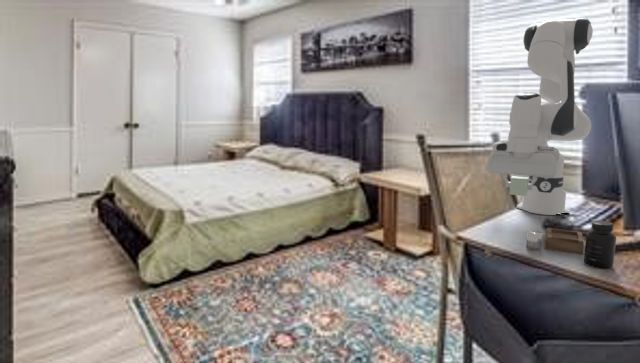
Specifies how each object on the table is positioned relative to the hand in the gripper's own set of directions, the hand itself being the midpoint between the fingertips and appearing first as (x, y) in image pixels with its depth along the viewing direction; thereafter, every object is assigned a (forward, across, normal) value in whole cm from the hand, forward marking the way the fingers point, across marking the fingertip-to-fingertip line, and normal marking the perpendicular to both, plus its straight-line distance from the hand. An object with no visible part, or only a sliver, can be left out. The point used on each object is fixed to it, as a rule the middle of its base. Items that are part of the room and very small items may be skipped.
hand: (518, 188), depth 140 cm
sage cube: (+2, 0, 0) cm, 2 cm away
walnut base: (+16, -14, +5) cm, 22 cm away
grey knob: (+16, -6, +11) cm, 20 cm away
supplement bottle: (+16, -22, +17) cm, 32 cm away
